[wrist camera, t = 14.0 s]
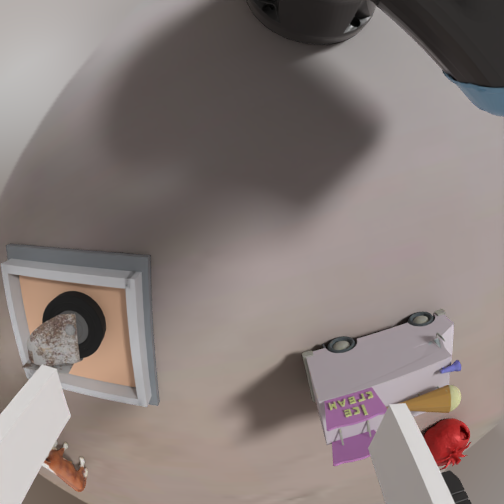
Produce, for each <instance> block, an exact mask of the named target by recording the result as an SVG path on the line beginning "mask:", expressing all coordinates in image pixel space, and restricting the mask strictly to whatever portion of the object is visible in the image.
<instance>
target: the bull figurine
mask: <svg viewBox="0 0 504 504" xmlns="http://www.w3.org/2000/svg"><path fill="white" fill-rule="evenodd" d="M57 445H58V443H57V440H56V442H55V444H54V445H53V447H52V449H51V450H50V452H49V454H48V456H47V457H46V459H45V461H44V463H43V464H42V466H43V467H45V468H47V469H48V470H49V471H51V472H53V473H54V474H56V475H57V476H58V477H60V478H61V479H62V480H63V481H64V482H65V483H66V484H68V485H69V486H70V487H72V488H73V489H74V490H75V491H77V492H81V491H83V490H84V488H85V485H86V478H87V475H88V470H87V468H85V469H84V463H85V461H84V458H83V457H81V456H80V457H79V458H80V463H81V464H79V467H80V469H79V470H78V471H76V470H75V468H74V466H73V464H72V462H71V461H68V460H66V459H65V458H63V453H64V451H65V449H67V448H68V444H67V443H66V442H64V446H63V448H61V449H60V450H57V449H56V446H57ZM83 475H84V476H83ZM84 478H85V480H84Z"/></svg>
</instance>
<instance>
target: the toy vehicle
mask: <svg viewBox="0 0 504 504" xmlns="http://www.w3.org/2000/svg"><path fill="white" fill-rule="evenodd" d="M453 333H454V322H453V321H452V320H450V319H449V318H448V317H447V316H446V315H445V311H444V310H443V309H440V310H438V311H435V313H433V316H432V315H431V314H430V313H427V312H417V313H415V314H413V315H411V316H410V317H409V319H408V323H405V324H402V325H399V326H396V327H393V328H390V329H387V330H384V331H380V332H377V333H374V334H371V335H368V336H364V337H361V338H358V339H357V345H356V343H355V341H354V340H353V339H352V338H350V337H338V338H335V339H333V340H332V341H331V342H330V343H329V344H328V347H327V349H326V347H325V345H324V344H322V346H323V349H319V350H316V351H313V352H312V350H311V351H307V352H303V353H302V356H303V361H304V365H305V369H306V374H307V378H308V383H309V387H310V392H311V396H312V401H313V402H316V405H317V409H318V413H319V416H320V420H321V424H322V428H323V432H324V436H325V440H326V444H327V445H329V444H332V450H333V466H337V465H340V464H342V463H348V462H353V461H357V460H361V459H364V458H367V457H369V456H370V453H369V450H368V447H369V445H370V443H371V441H372V439H373V437H374V435H375V433H376V430H377V429H378V427H379V425H380V423H381V421H382V419H383V417H384V415H385V413H386V410H387V408H388V406H389V404H401V403H406V405H407V407H408V409H409V410H410V412H411V414H412V416H413V417H415V416H417V415H420V414H422V413H425V412H441V413H449V412H450V411H453V410H454V409H455V408H456V407H457V406H458V405H459V403H460V400H461V393H460V391H459V389H458V388H457V387H455V386H453V385H449V378H450V372H452V371H461V364H460V362H459V361H458V360H456V361H455V362H454V363H453V364H452V365H451V360H452V348H453Z"/></svg>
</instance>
